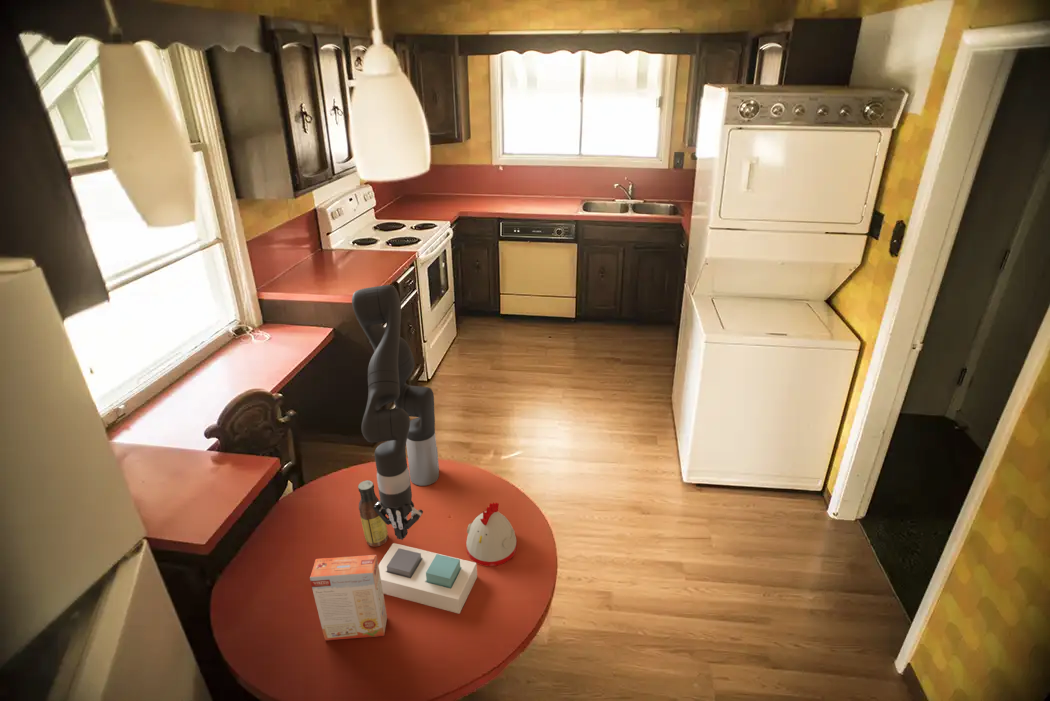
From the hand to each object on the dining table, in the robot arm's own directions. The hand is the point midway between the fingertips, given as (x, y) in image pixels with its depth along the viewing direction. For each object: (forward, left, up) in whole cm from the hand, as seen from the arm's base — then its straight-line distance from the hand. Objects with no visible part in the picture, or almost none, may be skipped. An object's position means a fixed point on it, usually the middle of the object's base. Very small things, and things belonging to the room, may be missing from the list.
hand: (401, 536), depth 150 cm
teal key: (0, +11, -11) cm, 15 cm away
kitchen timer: (-17, +17, -15) cm, 29 cm away
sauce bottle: (-10, -15, -15) cm, 23 cm away
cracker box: (+17, -5, -15) cm, 23 cm away
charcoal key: (0, 0, -12) cm, 12 cm away
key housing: (0, +5, -15) cm, 16 cm away
